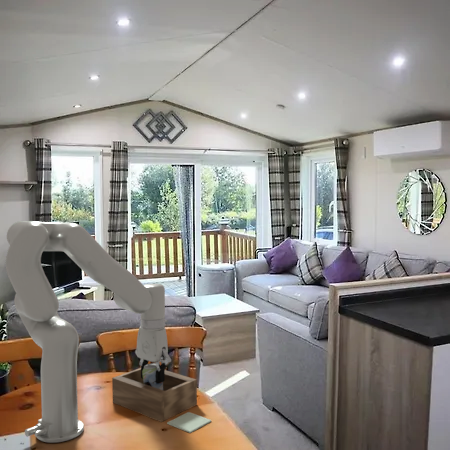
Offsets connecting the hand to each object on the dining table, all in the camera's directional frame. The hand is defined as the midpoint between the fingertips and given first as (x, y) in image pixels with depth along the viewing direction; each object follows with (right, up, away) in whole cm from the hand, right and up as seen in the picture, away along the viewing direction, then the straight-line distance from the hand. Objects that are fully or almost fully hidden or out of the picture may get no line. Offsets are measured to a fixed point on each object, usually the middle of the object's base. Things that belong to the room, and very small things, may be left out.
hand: (152, 379), depth 152 cm
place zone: (+13, -8, -13) cm, 20 cm away
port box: (+1, -8, +1) cm, 8 cm away
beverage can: (0, -7, 0) cm, 7 cm away
